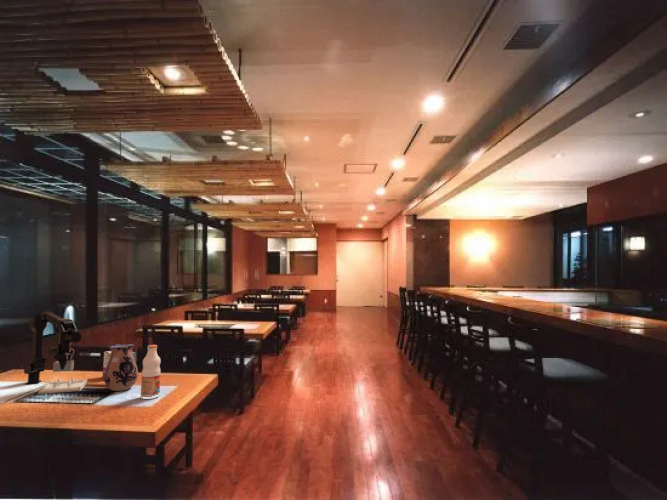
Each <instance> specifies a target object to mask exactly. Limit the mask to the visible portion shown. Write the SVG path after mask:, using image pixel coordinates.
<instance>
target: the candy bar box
mask: <svg viewBox="0 0 667 500" xmlns="http://www.w3.org/2000/svg"><path fill="white" fill-rule="evenodd" d="M110 356H111V350H107V351H104V352H103V363H102V364H103V365H102V378H103V377H104V374H105V370H106V367H107V364H108V362H109V359H110Z"/></svg>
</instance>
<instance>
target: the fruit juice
mask: <svg viewBox="0 0 667 500" xmlns="http://www.w3.org/2000/svg"><path fill="white" fill-rule="evenodd" d="M146 347H147V353H146V354H145V357H144V358H143V359H142V370H141V379H140V380H141V382H140V384H141V385H140V398H141V397H152V396H155V395H158V394H159V393H160V391H161V390H160V389H161V367H160V365H161V362H162V360H161V357H160V356H159V355H158V352H157V350H158V345H157V344H149V345H147V346H146ZM159 395H160V394H159Z"/></svg>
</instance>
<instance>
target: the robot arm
mask: <svg viewBox="0 0 667 500" xmlns="http://www.w3.org/2000/svg"><path fill="white" fill-rule="evenodd" d="M48 323H51V324H53V325H55V327H56V329H57V330H58V331H57V334H58V336H59V338H58V344H57V345H56V346H55V347H51V346H50V347H47V350H46V352H45V353H46V354H47V356H51V355H52V354H54V355H52V359H53V360H56V361H59V364H60V368H61V370H63V369H64V367H65V365H66V362H67V361H71V359H72V357H73V355H74V354H75V349H74V348H72V347H71V345H72V343H75V344H77V343H80V341H81V340H82V334H81V333H80V332H79V330H78V328H77V327H76V324H75V322H74V320H73V319H71V318H63V317H61V316H59V315H57V314H55V313H53V312H52V311H44V312H41V313H39V314H37V315H35V316H32V317H31V318H30V319H29V327H30V329H31V331H32V349H31V350H32V352H31V357H30V358H29V359H28V362H27V363H28V364H27V365H26V367H25V368H24V369H23V373H24V374H25V375H27V381H26V382H25V385H33V384H35V385H36V384H39V383H40V382H42V379H40V375H41V372H45V368H46V365H47V359H46V357H44V356H43V346H44V345H43V343H44V331H45V330H46V329H47V326H48Z"/></svg>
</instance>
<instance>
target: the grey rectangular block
mask: <svg viewBox="0 0 667 500" xmlns="http://www.w3.org/2000/svg"><path fill="white" fill-rule="evenodd" d="M74 366H75V359H73V360H70V361H67V362H66V365H65V367H64V369H63V370H61V368H60V364H59V361H58V360H56V361H54V362H53V364H52V372H53V373H54V372H55V373H57V372H58V373H59V372H72V371H73V370H74V368H75V367H74Z"/></svg>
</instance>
